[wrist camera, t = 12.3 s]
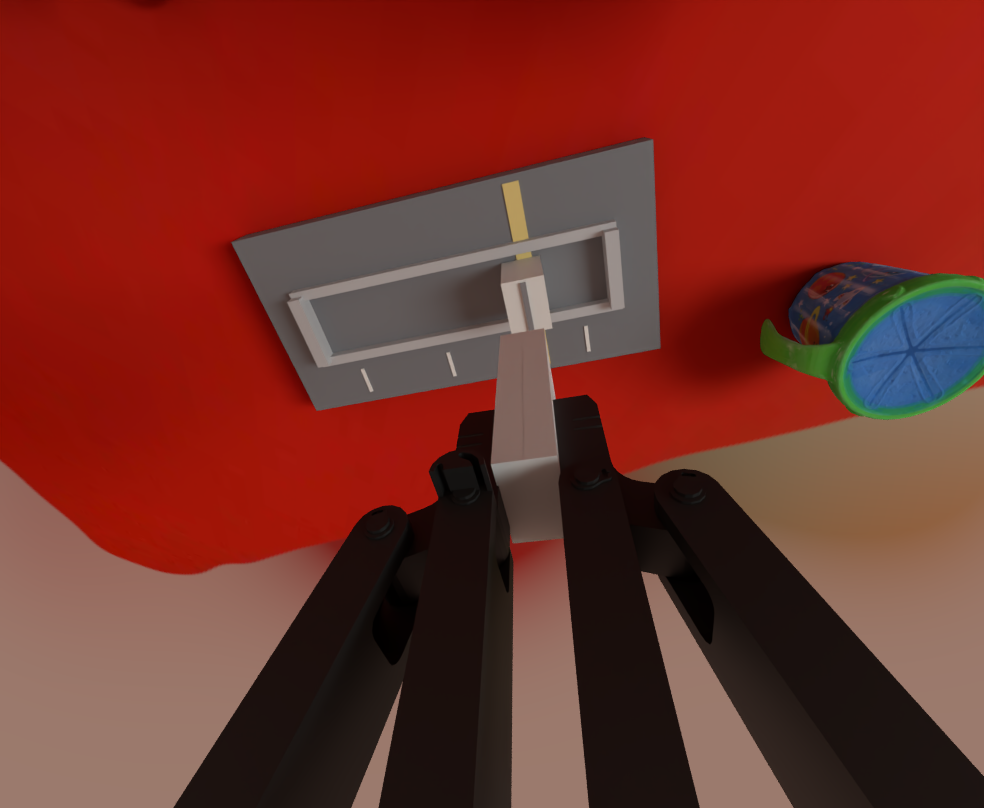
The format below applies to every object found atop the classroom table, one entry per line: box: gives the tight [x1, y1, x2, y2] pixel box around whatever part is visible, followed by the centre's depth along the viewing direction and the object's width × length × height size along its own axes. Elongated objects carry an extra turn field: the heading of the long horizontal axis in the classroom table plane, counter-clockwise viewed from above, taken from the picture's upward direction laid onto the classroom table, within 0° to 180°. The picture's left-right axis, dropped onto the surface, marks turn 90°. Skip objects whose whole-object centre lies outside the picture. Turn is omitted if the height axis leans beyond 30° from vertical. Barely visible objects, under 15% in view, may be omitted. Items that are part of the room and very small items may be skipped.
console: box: [231, 137, 660, 411], centre depth 38 cm, size 16×32×4 cm, turn 103°
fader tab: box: [501, 255, 552, 334], centre depth 35 cm, size 4×3×5 cm
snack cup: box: [760, 262, 984, 420], centre depth 36 cm, size 16×11×10 cm
